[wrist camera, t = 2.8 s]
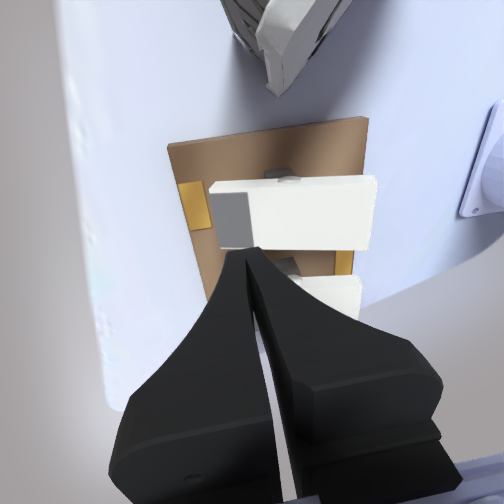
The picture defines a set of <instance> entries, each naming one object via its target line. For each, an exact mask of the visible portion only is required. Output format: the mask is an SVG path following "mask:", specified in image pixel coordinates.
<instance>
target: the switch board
mask: <svg viewBox="0 0 504 504" xmlns="http://www.w3.org/2000/svg"><path fill="white" fill-rule="evenodd" d="M368 123H369V118H366V117H362V116H359V117H352V118H345V119H338V120H331V121H324V122H317V123H310V124H303V125H296V126H289V127H282V128H275V129H268V130H261V131H254V132H247V133H240V134H233V135H226V136H219V137H212V138H205V139H198V140H191V141H184V142H177V143H170V144H168V146H167V150H168V154H169V158H170V162H171V165H172V169H173V173H174V177H175V180H176V184H177V188H178V192H179V196H180V199H181V203H182V207H183V211H184V214H185V218H186V222H187V226H188V230H189V233H190V237H191V241H192V245H193V248H194V252H195V256H196V260H197V263H198V267H199V271H200V275H201V279H202V282H203V286H204V290H205V294H206V297H207V301H209V299H210V297H211V295H212V293H213V291H214V288H215V286H216V284H217V281H218V279H219V276H220V274H221V271H222V268H223V264H224V260H225V254H226V253H227V252H228V251H233V250H239V249H221V248H220V247H219V243H218V238H217V233H216V228H215V223H214V219H213V214H212V209H211V204H210V199H209V189H210V187H211V186H212V185H213V184H214V183H215V181H234V180H257V179H280V178H282V177H286V176H297V177H300V178H303V177H326V176H349V175H363V169H364V159H365V150H366V141H367V132H368ZM262 250H263V251H264V253H265V254H266V255H267V256H268V257H269V258H270V259H271V261H272V262H273V263H274V264H275V265H276V266H277V267H278V268H279V269H280V270H281V271H283V272H284V273H285V274H286V275H287V276H288V275H298V276H300V277H315V276H338V275H352V268H353V259H354V250H267V249H262Z"/></svg>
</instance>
